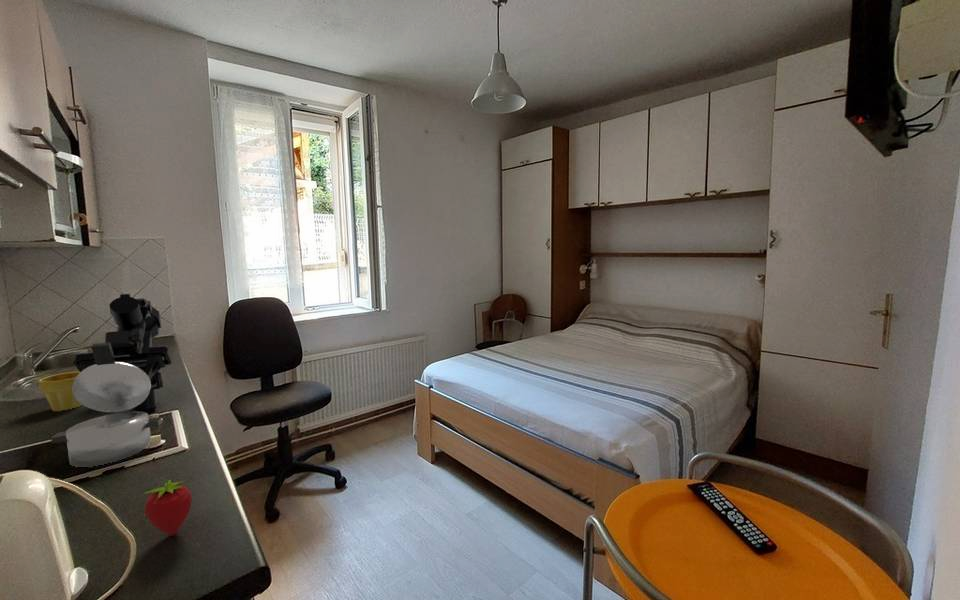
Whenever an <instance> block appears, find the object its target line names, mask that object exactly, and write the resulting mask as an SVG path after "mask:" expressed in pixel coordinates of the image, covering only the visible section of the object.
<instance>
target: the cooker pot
mask: <svg viewBox="0 0 960 600" xmlns="http://www.w3.org/2000/svg"><path fill="white" fill-rule="evenodd" d="M149 417H150V415H149V413H148V412H147V413H146V412H139V411H133V412H129V411H121V412H114V413H111V414H104V415H101V416H97V417H94V418H90V419H87V420H85V421H81V422H79V423H77V424H75V425H72V426H70V427H69V428H68V429H67V430H66V431H60V432H57V433H55V434H54V435H53V436H52V437H51V438H50V440H51V444H56V443H61V442H62V443H63V442H66V447H67V453H68V461H69V465H70V466H71V465H72V466H71V467H73V466H75V467H74V468H77V467H88V468H94V467H93V466H96V467H99V466H98V465H102V466H105V465H104V464H107V463H111V464H113V463H112V462H115V461H118V460H122V459H125V458H127V457H130V456H132V455H134V454H137V453H139V452H140V451H142V450H143V449H145V448H146V447H147V445H148V444H149V442H150V440H151V441H152V436H151V435H152V434H151V429H150V428H154V427H155V428H156V427H160V426H161V424H162V422H163V419H162V416H160V417H159V416H158V417H151V418H149ZM139 454H140V453H139ZM137 455H138V454H137ZM130 458H131V457H130ZM127 459H128V458H127ZM125 460H126V459H125ZM122 461H123V460H122ZM118 462H119V461H118ZM115 463H116V462H115ZM107 465H108V464H107Z"/></svg>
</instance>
